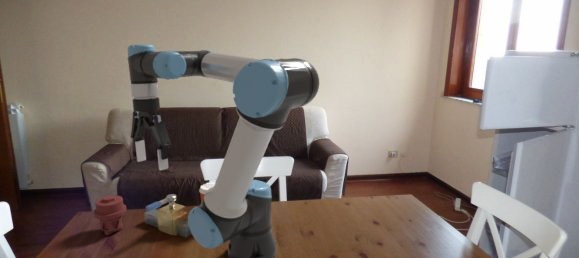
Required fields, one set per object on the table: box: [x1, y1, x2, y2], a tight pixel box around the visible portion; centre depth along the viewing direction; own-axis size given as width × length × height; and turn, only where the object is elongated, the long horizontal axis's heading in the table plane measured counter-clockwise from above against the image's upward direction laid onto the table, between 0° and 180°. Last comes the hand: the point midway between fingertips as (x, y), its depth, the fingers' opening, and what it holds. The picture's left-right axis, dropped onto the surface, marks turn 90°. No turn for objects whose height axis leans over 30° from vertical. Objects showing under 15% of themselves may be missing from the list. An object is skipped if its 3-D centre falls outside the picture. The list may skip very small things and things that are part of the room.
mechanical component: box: [93, 194, 127, 236], centre depth 125 cm, size 12×10×10 cm
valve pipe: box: [143, 201, 192, 238], centre depth 128 cm, size 20×6×11 cm, turn 61°
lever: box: [145, 193, 177, 212], centre depth 122 cm, size 3×12×1 cm, turn 151°
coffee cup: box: [198, 181, 216, 204], centre depth 129 cm, size 8×8×15 cm
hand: (152, 164), depth 115 cm, fingers open, 13 cm apart
